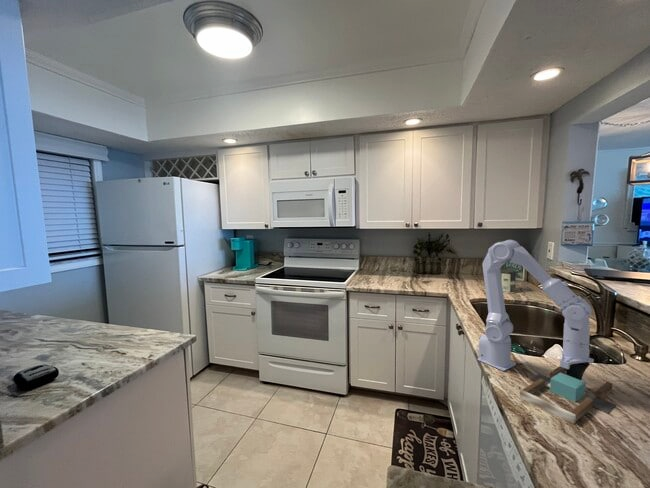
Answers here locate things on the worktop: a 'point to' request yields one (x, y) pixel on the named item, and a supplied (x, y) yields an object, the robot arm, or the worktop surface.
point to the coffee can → (508, 280)
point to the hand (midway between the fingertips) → (574, 383)
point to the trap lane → (564, 414)
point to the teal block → (567, 387)
